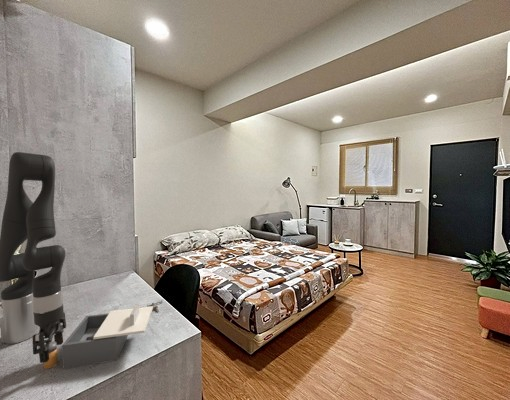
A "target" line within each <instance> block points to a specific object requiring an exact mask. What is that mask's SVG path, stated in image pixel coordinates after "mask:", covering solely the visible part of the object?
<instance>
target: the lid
mask: <svg viewBox="0 0 510 400" xmlns="http://www.w3.org/2000/svg"><path fill="white" fill-rule="evenodd" d="M152 309H154V308H153V306H152V305H151V306H148V307H147V306H144V307H140V303H134V306H133V308H127V309H126V308H125V309H117V310H110V311H109V314H108V316H107V317H106V319H105V320H104V322H103V323H102V325H101V327H100V328H99V330H98V331H97V333H96V334H95V336H94V337H93V340H94V339H101V338H108V337H116V336H123V335H128V336H129V335H130V336H131V335H136V334H145V332H146V329H147V328H148V327H147V326H148V324H149V321H150V318H151V315H152V312H153V311H152Z"/></svg>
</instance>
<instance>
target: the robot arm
mask: <svg viewBox="0 0 510 400" xmlns="http://www.w3.org/2000/svg"><path fill="white" fill-rule="evenodd" d="M24 181H36V182H37V181H39V182H41V189H40V192H39V194H38V196H37V197H36V198H35V200H34V201H32V200H31V199H30V197H29V196H28V194H27V193H26V191H25V189H24V185H23V184H24ZM55 183H56V166H55V161H54V159H53V158H52V157H51V156H50V155H46V154H38V153H37V154H36V153H30V152H29V153H28V152H21V151H16V152H13V153H12V155H11V157H10V160H9V163H8V181H7V192H6V193H7V194H6V200H5V204H4V209H3V214H2V221H1V226H0V227H1V229H0V283H4V282H9V281H13V280H15V282H13V283H12V284H10V285H9V286H7V287H5V288H4V289H3V290H1V293H0V299H1V309H2V317H0V339H1V341H0V342H1V343H3V344H4V343H5V344H8V345H12V344H18V343H21V342H24V341H26V340H28V339H30V338H31V339H32V354H33V355H38V356H39V357H38V358H39V363H40V364H43V363H44V362H47V361H48V360H49V350H48V347H49V343H50V342H53V341H55V342H56V343H57V346H60V345H61V346H62V345H63V344H64V337H63V336H64V335H63V333H64V332H65V330H64V329H66V328H67V322H66V313H65V310H64V300H63V299H64V297H63V293H62V285H61V284H62V283H61V276H62V275H61V274H62V269H63V265H64V263H65V259H66V250H65V248H64V247H63V246H62V245H60V244H53V245H48V246H41V247H37V245H38V244H40V243H42V242H44V241H47V240H51V239H54V238H55V237H56V234H57V233H56V232H57V230H56V222H55V211H54V201H55V189H56V188H55V187H56V185H55ZM25 242H26V244H25V245H26V247H25V249H24V252H21V253H16V251H17V250H18V249H19V248H20V247H21V245H23V243H25ZM15 253H16V254H15ZM48 268H50V270H48V271H47V272H46V273H43V274H41V275H38V276H35V273H36V271H39V270H44V269H48ZM38 327H39V329H38ZM53 338H54V339H53ZM45 344H46V345H45Z"/></svg>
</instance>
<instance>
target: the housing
mask: <svg viewBox="0 0 510 400" xmlns="http://www.w3.org/2000/svg"><path fill="white" fill-rule="evenodd" d="M109 313H110V312H109ZM109 313H107V312H106V313H99V314H91V315H85V317H84V318H83V319H82V320H81V322H80V323H79V324H78V325H77V326H76V328H75V329H74V330H73V331H72V332H71V334H70V335H69V336H68V337H67V339H66V340H65V341H63V343H62V344H61V353H62V368H63V369H70V368H77V367H84V366H89V365H95V364H101V363H107V362H114V361H118V358H119V357H120V354H121V352H122V350H123V347H124V345H125V343H126V341H127V339H128V336H129V335H123V336H116V337H108V338H101V339H94V340H93V337H94V336H95V334H96V333H97V331H98V330H99V328H100V327H101V325H102V323H103V322H104V320H105V319H106V317H107V316H108V314H109Z"/></svg>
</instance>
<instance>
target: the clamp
mask: <svg viewBox="0 0 510 400" xmlns="http://www.w3.org/2000/svg"><path fill="white" fill-rule="evenodd" d="M160 303H163V300H161V301H158V302H152V303H151V304H147V305H146V307H151V306H153V309H152V312H154V311H157V312H158V313H159V312H160V311H159V307H158V306H159V305H158V304H160Z"/></svg>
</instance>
